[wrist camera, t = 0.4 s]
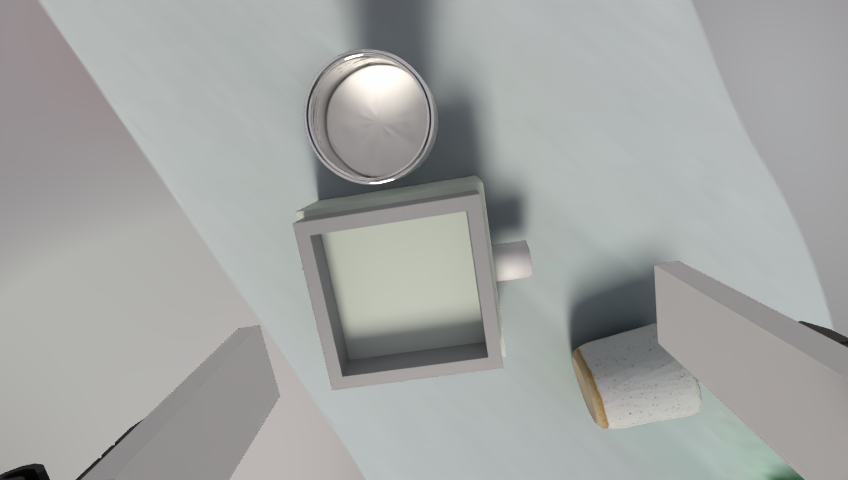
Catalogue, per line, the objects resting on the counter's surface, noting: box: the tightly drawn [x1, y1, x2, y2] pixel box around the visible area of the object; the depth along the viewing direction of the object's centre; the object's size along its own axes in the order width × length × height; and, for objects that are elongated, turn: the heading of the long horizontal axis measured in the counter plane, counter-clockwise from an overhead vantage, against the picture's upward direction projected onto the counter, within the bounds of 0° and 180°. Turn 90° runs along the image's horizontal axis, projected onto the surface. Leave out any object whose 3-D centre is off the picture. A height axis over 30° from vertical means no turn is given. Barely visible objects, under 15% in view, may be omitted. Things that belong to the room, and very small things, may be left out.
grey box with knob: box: [293, 175, 532, 390], centre depth 34 cm, size 14×17×8 cm
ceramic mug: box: [572, 323, 702, 429], centre depth 36 cm, size 11×8×8 cm
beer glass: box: [304, 49, 438, 185], centre depth 28 cm, size 7×7×15 cm
